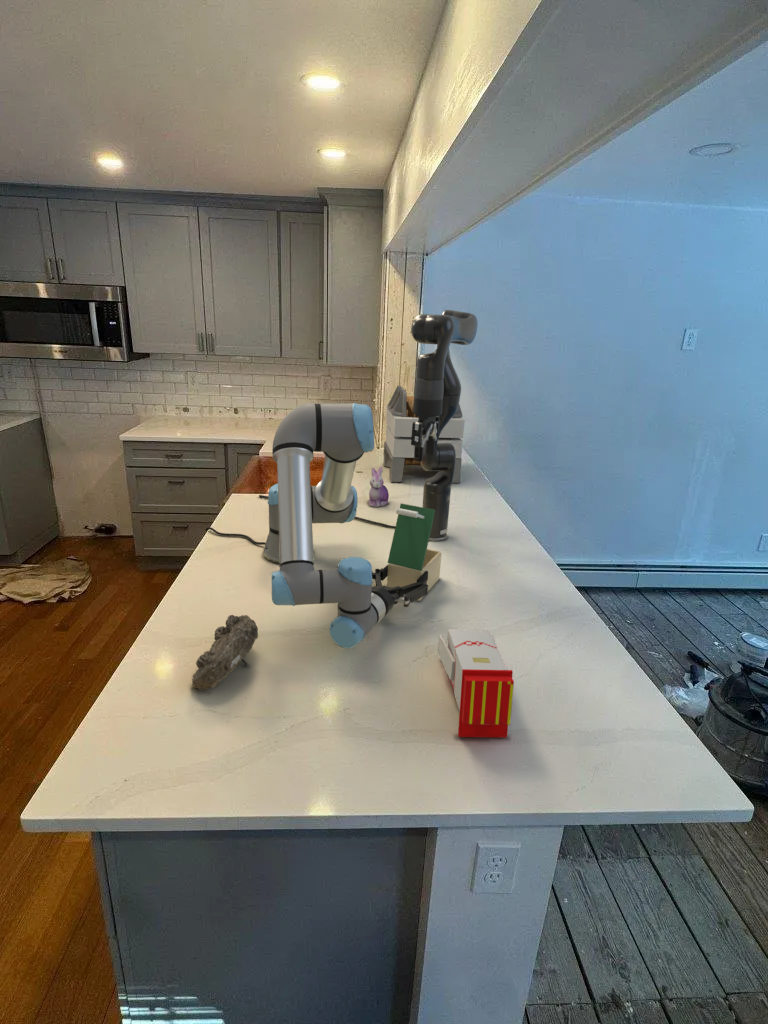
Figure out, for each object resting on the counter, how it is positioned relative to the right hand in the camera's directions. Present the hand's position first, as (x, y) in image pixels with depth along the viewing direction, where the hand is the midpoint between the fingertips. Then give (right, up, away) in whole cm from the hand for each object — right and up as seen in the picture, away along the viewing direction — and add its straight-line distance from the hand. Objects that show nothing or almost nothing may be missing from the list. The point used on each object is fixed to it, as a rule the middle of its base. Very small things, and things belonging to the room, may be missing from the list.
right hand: (424, 457), depth 152 cm
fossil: (-45, -48, -27) cm, 71 cm away
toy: (+7, -52, -33) cm, 62 cm away
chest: (-2, -36, +11) cm, 38 cm away
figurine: (-13, -11, +78) cm, 80 cm away
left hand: (-4, -31, +5) cm, 32 cm away
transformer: (+6, +4, +123) cm, 124 cm away
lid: (-3, -21, +2) cm, 22 cm away
